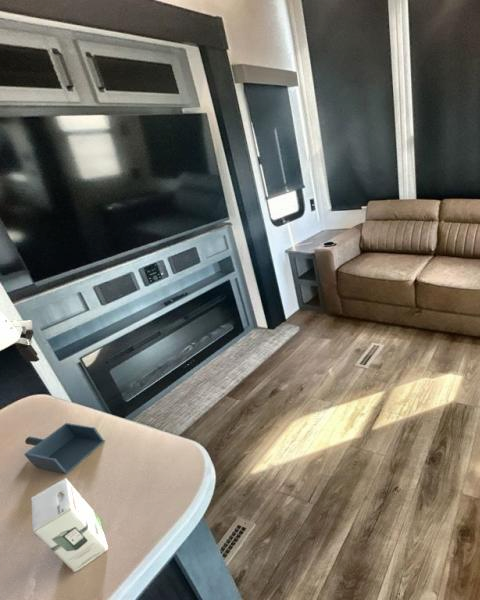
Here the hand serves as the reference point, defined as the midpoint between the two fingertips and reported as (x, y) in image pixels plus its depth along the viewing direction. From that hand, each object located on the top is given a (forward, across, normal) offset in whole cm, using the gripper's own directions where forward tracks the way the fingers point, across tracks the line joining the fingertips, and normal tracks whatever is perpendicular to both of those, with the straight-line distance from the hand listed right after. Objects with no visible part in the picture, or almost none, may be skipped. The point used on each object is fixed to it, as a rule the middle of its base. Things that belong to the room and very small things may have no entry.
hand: (8, 375), depth 77 cm
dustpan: (+20, +3, +4) cm, 20 cm away
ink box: (+20, +19, +31) cm, 42 cm away
